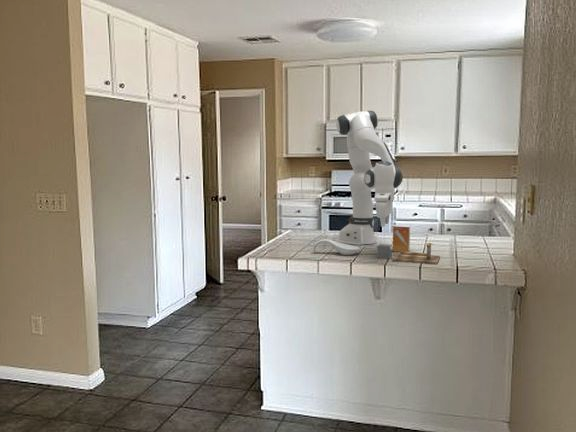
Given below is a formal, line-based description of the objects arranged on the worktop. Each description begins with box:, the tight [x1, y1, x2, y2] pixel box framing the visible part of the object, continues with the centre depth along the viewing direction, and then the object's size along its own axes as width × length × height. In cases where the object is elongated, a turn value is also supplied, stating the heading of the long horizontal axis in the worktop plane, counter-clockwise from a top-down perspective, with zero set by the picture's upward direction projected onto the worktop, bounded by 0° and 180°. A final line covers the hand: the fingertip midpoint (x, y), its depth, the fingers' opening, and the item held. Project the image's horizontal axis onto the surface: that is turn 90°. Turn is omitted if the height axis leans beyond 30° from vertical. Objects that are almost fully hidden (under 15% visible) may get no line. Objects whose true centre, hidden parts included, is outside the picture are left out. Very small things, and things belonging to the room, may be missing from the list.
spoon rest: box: [311, 238, 361, 256], centre depth 259 cm, size 24×12×7 cm, turn 80°
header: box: [391, 242, 441, 265], centre depth 243 cm, size 20×15×8 cm
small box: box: [392, 224, 411, 253], centre depth 264 cm, size 8×6×13 cm
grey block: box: [376, 243, 393, 260], centre depth 248 cm, size 6×5×6 cm
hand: (384, 225), depth 247 cm, fingers open, 8 cm apart
